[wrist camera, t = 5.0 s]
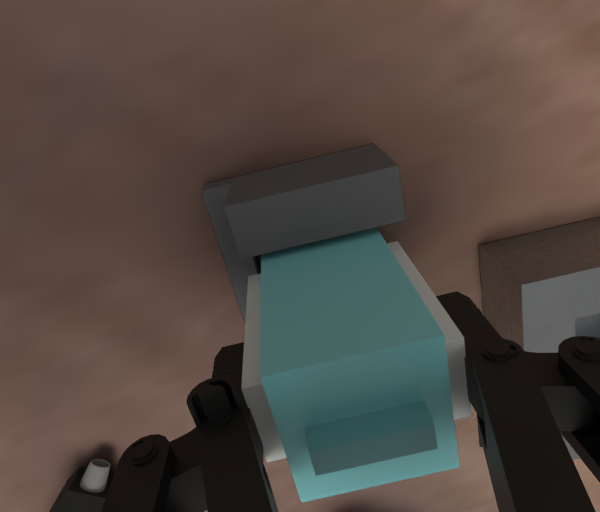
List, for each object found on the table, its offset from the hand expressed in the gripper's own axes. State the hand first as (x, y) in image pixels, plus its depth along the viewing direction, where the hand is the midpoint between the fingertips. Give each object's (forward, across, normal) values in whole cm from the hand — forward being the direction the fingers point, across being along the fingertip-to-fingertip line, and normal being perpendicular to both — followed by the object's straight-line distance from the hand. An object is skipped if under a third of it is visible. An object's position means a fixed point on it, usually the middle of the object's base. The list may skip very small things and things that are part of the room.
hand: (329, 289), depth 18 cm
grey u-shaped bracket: (+3, 0, 0) cm, 3 cm away
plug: (+3, 0, 0) cm, 3 cm away
